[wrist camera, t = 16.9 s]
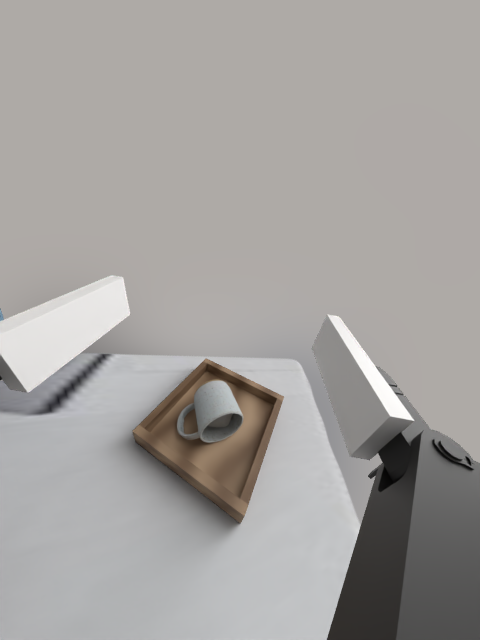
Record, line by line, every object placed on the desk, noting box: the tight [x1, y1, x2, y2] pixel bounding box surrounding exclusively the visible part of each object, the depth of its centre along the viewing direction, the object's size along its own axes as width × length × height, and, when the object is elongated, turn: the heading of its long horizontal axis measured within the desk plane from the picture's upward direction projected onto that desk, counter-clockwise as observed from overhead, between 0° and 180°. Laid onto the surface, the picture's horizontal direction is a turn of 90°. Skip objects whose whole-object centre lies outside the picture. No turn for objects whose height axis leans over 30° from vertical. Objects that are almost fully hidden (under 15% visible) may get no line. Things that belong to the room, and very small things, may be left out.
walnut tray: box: [133, 359, 284, 523], centre depth 35 cm, size 20×20×4 cm
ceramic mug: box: [177, 380, 243, 443], centre depth 33 cm, size 11×8×8 cm
